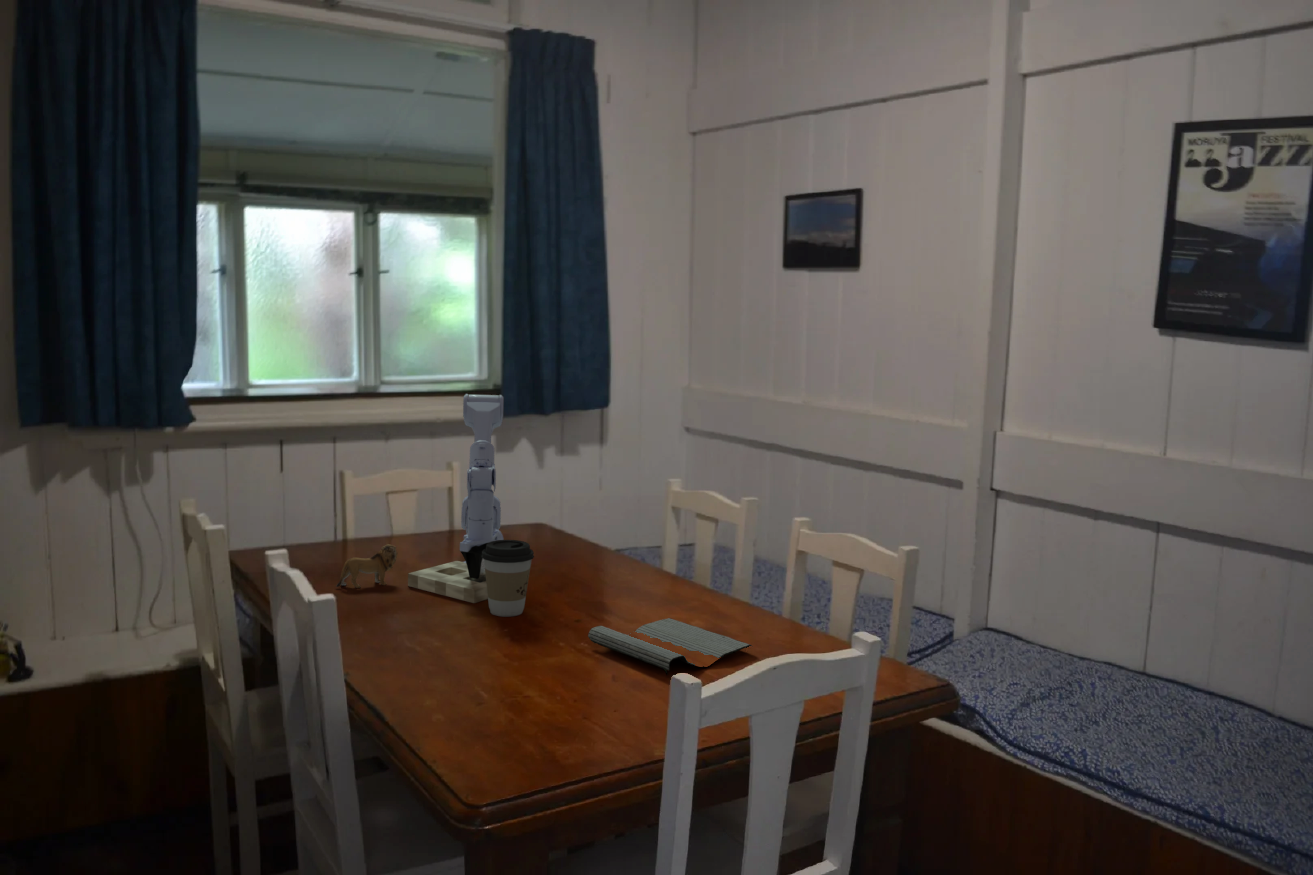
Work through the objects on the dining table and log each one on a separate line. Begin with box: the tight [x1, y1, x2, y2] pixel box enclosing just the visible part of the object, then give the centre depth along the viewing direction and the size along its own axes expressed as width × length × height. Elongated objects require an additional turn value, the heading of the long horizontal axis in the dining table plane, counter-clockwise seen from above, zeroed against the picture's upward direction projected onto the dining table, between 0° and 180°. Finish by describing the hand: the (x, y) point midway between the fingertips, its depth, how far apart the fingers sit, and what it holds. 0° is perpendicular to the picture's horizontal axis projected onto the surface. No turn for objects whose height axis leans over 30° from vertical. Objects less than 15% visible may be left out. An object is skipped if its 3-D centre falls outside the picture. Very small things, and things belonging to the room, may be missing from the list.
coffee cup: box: [481, 539, 535, 618], centre depth 218 cm, size 11×11×15 cm
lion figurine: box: [335, 543, 398, 589], centre depth 234 cm, size 15×5×9 cm, turn 129°
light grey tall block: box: [469, 559, 486, 583], centre depth 233 cm, size 4×4×7 cm
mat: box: [587, 617, 753, 674], centre depth 198 cm, size 23×24×5 cm
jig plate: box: [407, 560, 488, 604], centre depth 236 cm, size 16×21×3 cm
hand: (479, 575), depth 233 cm, fingers closed on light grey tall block, 4 cm apart
